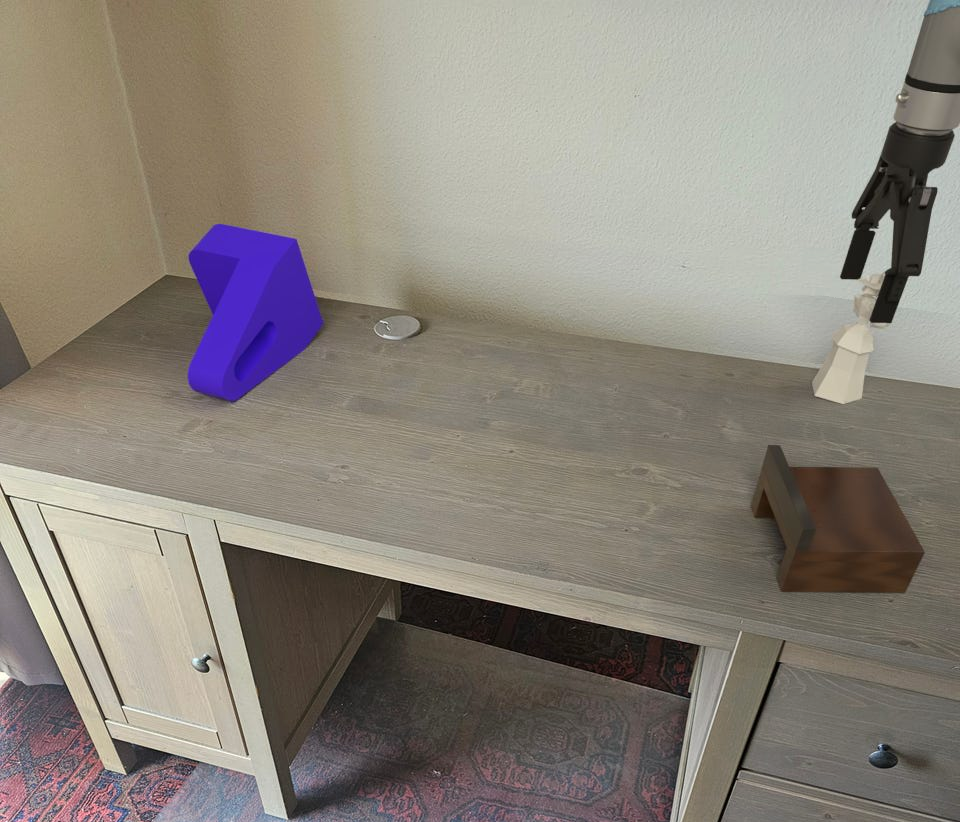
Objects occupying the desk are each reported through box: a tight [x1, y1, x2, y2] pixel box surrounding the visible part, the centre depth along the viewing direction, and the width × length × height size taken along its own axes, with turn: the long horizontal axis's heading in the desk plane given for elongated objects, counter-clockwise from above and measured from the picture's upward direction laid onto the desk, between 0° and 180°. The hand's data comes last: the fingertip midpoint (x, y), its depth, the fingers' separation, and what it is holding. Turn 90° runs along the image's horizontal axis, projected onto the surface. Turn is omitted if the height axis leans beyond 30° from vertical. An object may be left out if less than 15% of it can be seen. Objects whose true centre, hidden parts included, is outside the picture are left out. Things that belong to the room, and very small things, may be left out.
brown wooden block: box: [750, 444, 926, 594], centre depth 99 cm, size 14×16×9 cm
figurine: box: [811, 271, 891, 405], centre depth 122 cm, size 7×8×18 cm
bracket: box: [187, 223, 324, 402], centre depth 129 cm, size 25×15×16 cm
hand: (864, 299), depth 119 cm, fingers open, 13 cm apart
